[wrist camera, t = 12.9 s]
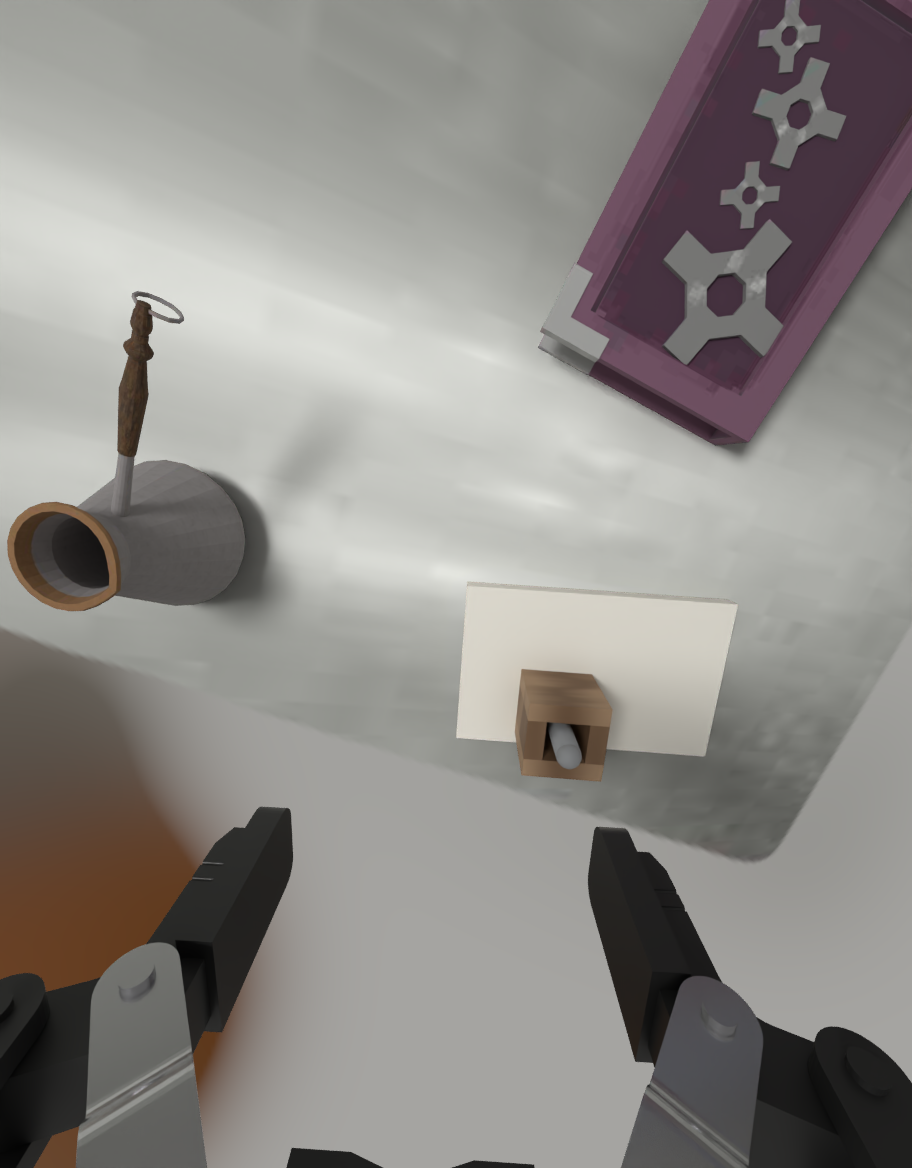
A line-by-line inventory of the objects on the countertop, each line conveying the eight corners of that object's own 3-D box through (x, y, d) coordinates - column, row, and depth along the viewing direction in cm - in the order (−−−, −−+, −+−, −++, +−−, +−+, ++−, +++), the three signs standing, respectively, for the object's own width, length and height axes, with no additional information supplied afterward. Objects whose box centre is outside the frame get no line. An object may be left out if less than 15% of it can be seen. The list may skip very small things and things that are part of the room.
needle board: (728, 599, 39) (812, 641, 29) (696, 746, 42) (763, 828, 32) (467, 581, 39) (465, 617, 29) (456, 728, 42) (452, 803, 33)
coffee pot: (222, 620, 41) (83, 703, 26) (104, 548, 40) (-110, 593, 25) (343, 408, 36) (256, 365, 22) (214, 319, 35) (30, 210, 20)
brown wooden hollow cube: (591, 674, 39) (612, 709, 33) (582, 736, 41) (601, 781, 35) (521, 668, 39) (529, 703, 33) (514, 731, 41) (521, 775, 35)
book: (728, -42, 29) (779, -144, 24) (932, 93, 31) (1019, 21, 26) (532, 347, 35) (542, 327, 30) (711, 447, 36) (748, 443, 31)
